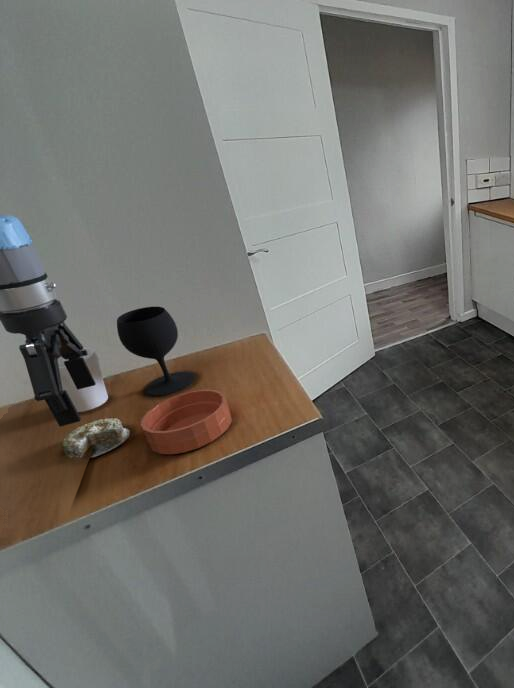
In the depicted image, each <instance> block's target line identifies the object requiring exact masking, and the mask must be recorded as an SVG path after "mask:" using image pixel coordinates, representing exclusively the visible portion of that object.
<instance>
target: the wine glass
mask: <svg viewBox="0 0 514 688" xmlns="http://www.w3.org/2000/svg"><path fill="white" fill-rule="evenodd" d="M116 329H117V336H118V339H119V341H120V342H121V344H122V346H123V347H124V348H125V349H126V350H127V351H128V352H130V353H131V354H133V355H134V356H137V357H140V358H145V359H150V360H156V362H157V363H158V364H159V366H160V369H161V370H162V374H163V375H162V376H159V377H158V378H155V379H153V380H152V381H150V382H149V383H148V384H147V385H146V386H145V388H144V390H143V391H144V394H145V395H146V396H148V397H152V398H153V397H155V398H157V397H164V396H169V395H172V394H173V395H174V394H176V393H178V392H181V391H182V390H184V389H186V388H188V387H190V385H192V384H193V383H194V382H195V380H196V375H195V373H194V372H191V371H177V372H171V373H170V372H169V370H168V367H167V364H166V362H165V356H167V355H168V354H169V353H170V352H171V351H172V349H173V348H174V347H175V346H176V343H177V341H178V336H179V332H178V331H179V329H178V327H177V324H176V322H175V320H174V318H173V316H172V315H171V314H170V312H168V310H167V309H166V308H165V307H164V306H145V307H140V308H136V309H132V310H130V311H126V312H125V313H122V314H121V315H119V316H118V317H117V319H116Z"/></svg>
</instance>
